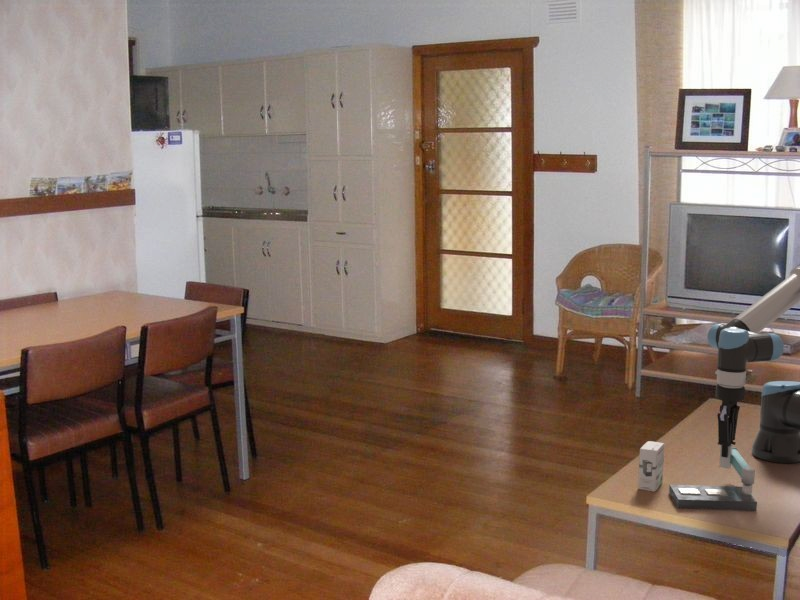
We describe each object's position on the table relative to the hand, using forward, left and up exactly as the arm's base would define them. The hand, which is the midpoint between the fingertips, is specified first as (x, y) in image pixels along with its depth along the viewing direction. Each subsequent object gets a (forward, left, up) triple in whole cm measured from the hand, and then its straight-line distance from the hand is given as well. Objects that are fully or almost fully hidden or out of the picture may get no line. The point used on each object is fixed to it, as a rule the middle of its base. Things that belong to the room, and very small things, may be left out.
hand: (725, 467), depth 263 cm
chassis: (+7, +14, -5) cm, 16 cm away
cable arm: (-3, +5, +1) cm, 5 cm away
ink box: (+21, +3, -5) cm, 22 cm away
